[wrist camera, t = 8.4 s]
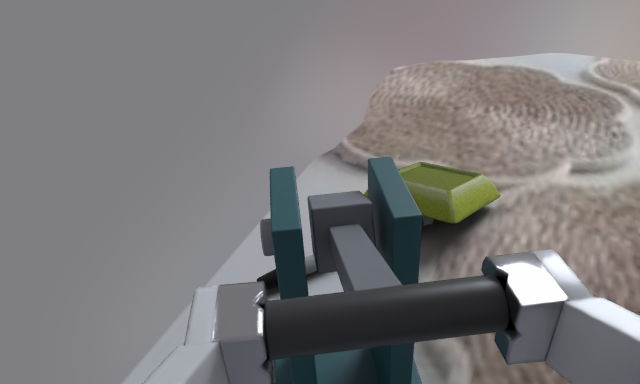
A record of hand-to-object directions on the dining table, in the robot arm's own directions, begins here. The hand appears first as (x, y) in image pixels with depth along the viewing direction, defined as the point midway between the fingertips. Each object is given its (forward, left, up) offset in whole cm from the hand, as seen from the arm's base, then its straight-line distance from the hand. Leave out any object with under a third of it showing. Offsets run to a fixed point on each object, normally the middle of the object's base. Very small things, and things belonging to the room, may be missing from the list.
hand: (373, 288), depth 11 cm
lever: (0, -3, -3) cm, 4 cm away
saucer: (-10, -25, -12) cm, 29 cm away
